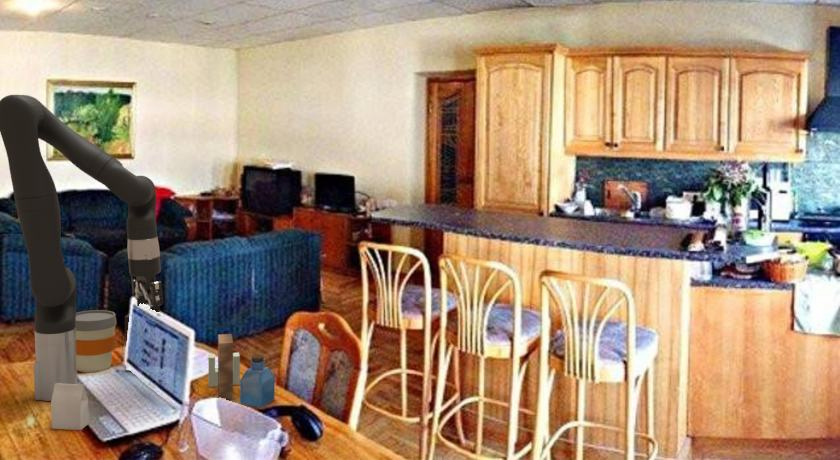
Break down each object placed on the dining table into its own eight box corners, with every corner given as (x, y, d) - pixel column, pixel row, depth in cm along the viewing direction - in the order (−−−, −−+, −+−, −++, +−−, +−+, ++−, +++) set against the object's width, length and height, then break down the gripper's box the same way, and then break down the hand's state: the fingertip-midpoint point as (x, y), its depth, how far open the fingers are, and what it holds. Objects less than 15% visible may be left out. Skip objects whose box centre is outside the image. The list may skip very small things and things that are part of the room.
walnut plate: (219, 400, 184) (219, 343, 182) (218, 389, 192) (218, 334, 190) (232, 399, 185) (233, 342, 183) (231, 388, 193) (231, 333, 191)
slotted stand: (208, 386, 193) (208, 358, 192) (208, 382, 197) (208, 354, 195) (239, 384, 196) (239, 356, 195) (238, 380, 199) (238, 352, 198)
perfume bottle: (274, 399, 187) (274, 354, 185) (261, 407, 181) (261, 361, 179) (253, 395, 189) (253, 351, 187) (240, 403, 183) (240, 357, 181)
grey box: (80, 430, 164) (79, 387, 162) (51, 428, 164) (50, 386, 163) (88, 423, 167) (87, 382, 166) (60, 422, 168) (58, 380, 166)
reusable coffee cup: (86, 358, 212) (84, 308, 210) (126, 361, 211) (125, 311, 209) (59, 372, 200) (57, 319, 198) (101, 375, 198) (100, 322, 196)
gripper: (118, 253, 185) (124, 314, 188) (140, 261, 175) (145, 326, 178) (147, 249, 190) (152, 308, 193) (170, 257, 180) (174, 319, 183)
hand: (149, 317), depth 185 cm, fingers open, 8 cm apart
